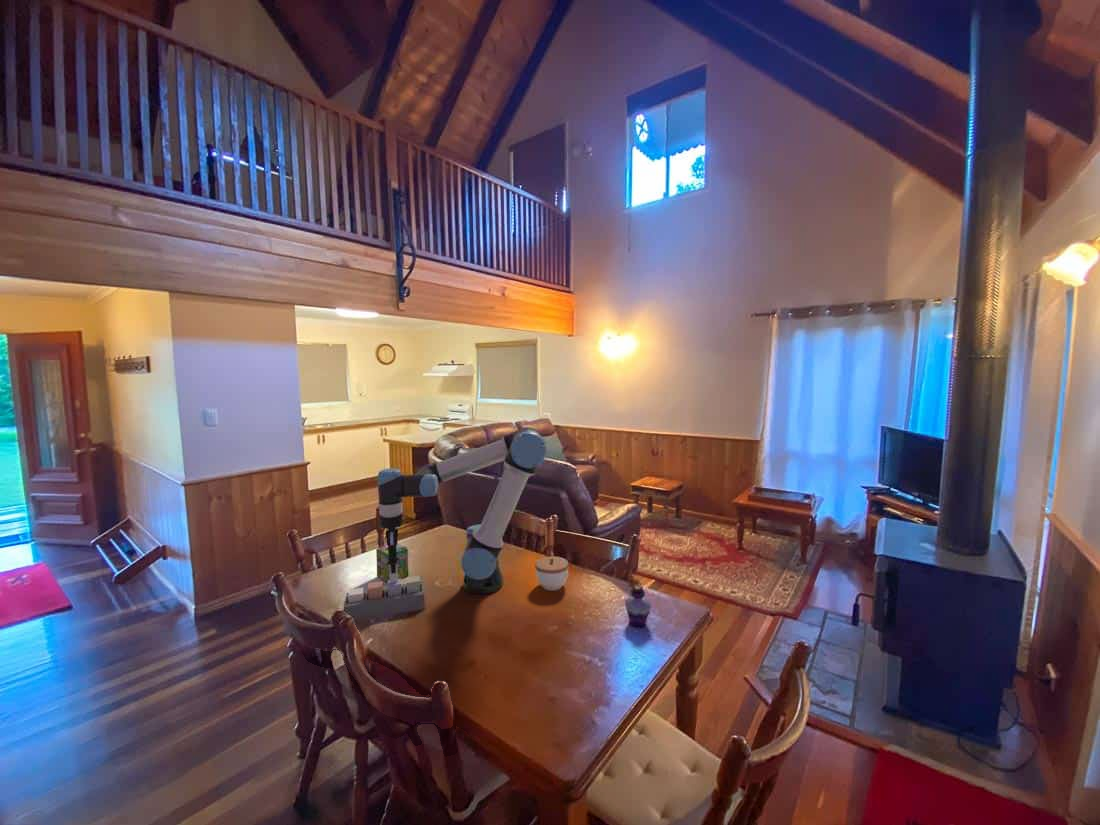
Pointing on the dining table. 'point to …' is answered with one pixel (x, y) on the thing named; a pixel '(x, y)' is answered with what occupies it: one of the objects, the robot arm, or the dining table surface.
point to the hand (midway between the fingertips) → (393, 580)
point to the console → (385, 604)
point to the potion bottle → (637, 607)
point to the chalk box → (384, 558)
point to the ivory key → (356, 595)
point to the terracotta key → (375, 590)
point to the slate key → (394, 588)
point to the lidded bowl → (552, 572)
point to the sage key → (413, 584)
